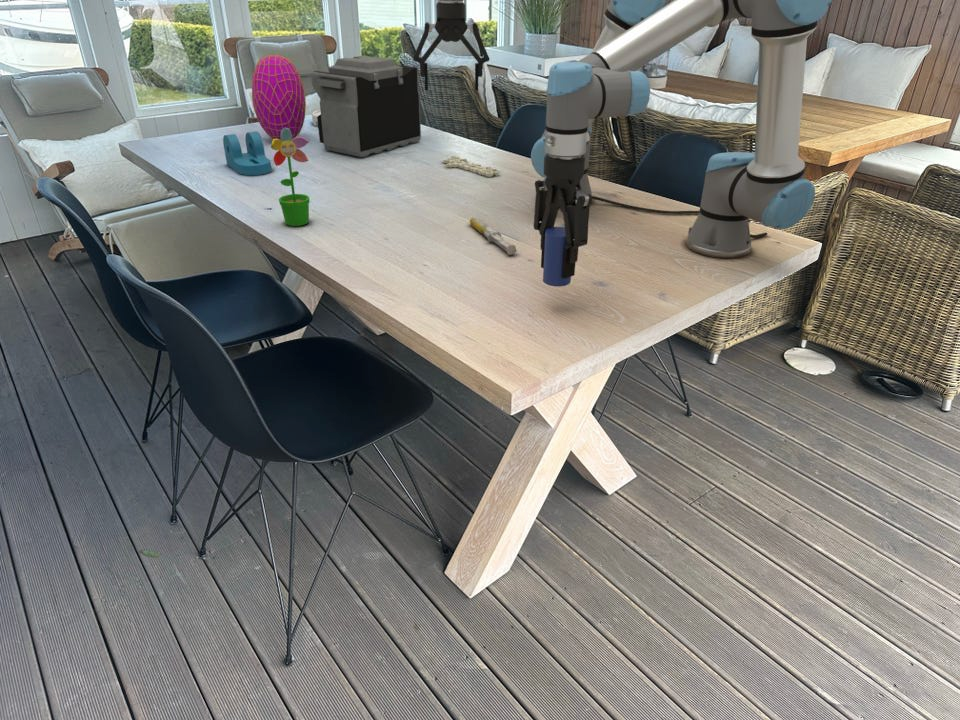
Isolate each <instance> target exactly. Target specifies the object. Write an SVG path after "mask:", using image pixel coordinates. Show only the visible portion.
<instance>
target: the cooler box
mask: <svg viewBox="0 0 960 720" xmlns="http://www.w3.org/2000/svg"><path fill="white" fill-rule="evenodd" d="M310 79H311V87H313V90H314V91H315V93H316V94H317V96H318V98H319V110H320V111H321V115H319V116H318V117H317V120H318V126H317V128H318V138H319V143H320V144H323V146H324V149H325V150H327V151H330V152H335V153H340V154H344V155H348V156H353V157H357V158H362V159H363V158H366V157H367V158H368V157H369V155H371V154H375V155H377V154H381V153H382V152H383V151H391V150H395V149H396V148H397V147H405V146H407V145H408V144H416V143H418V142H419V141H421V137H422V128H421V97H420V92H419V91H420V89H419V68H418V67H417V66H408V65H400V64H396V62H395V60H394V59H393V58H385V57H377V56H367V55H356V56H353V57H350V58H349V57H343V58H342V57H341V58H337V59H336V60H335V63H334V64H333V65H330V66H329V67H328V72H327V71H320V70H314V71H313V70H312V71H310Z"/></svg>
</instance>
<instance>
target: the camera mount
mask: <svg viewBox="0 0 960 720" xmlns="http://www.w3.org/2000/svg"><path fill="white" fill-rule="evenodd" d="M222 140H223V141H222V143H223V149H224V150H223V151H224V156H225V161H226V165H227V166H228V167H230V168H231V169H232V170H234V171H236V172H237V173H238V174H239V175H244V176H260V175H265V174H268V173H271V172H272V164H271V159H270V158H268V157H267V156H266V153H265V145H264V141H263V139H262V136H261V134H260V132H258V131H247V132H246V133H245V146H246V152H243V151H242V150H243V149H242V146H241V142H240V140H239V138H238V135H236V134H235V133H231V134H224V135H223V138H222Z"/></svg>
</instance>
